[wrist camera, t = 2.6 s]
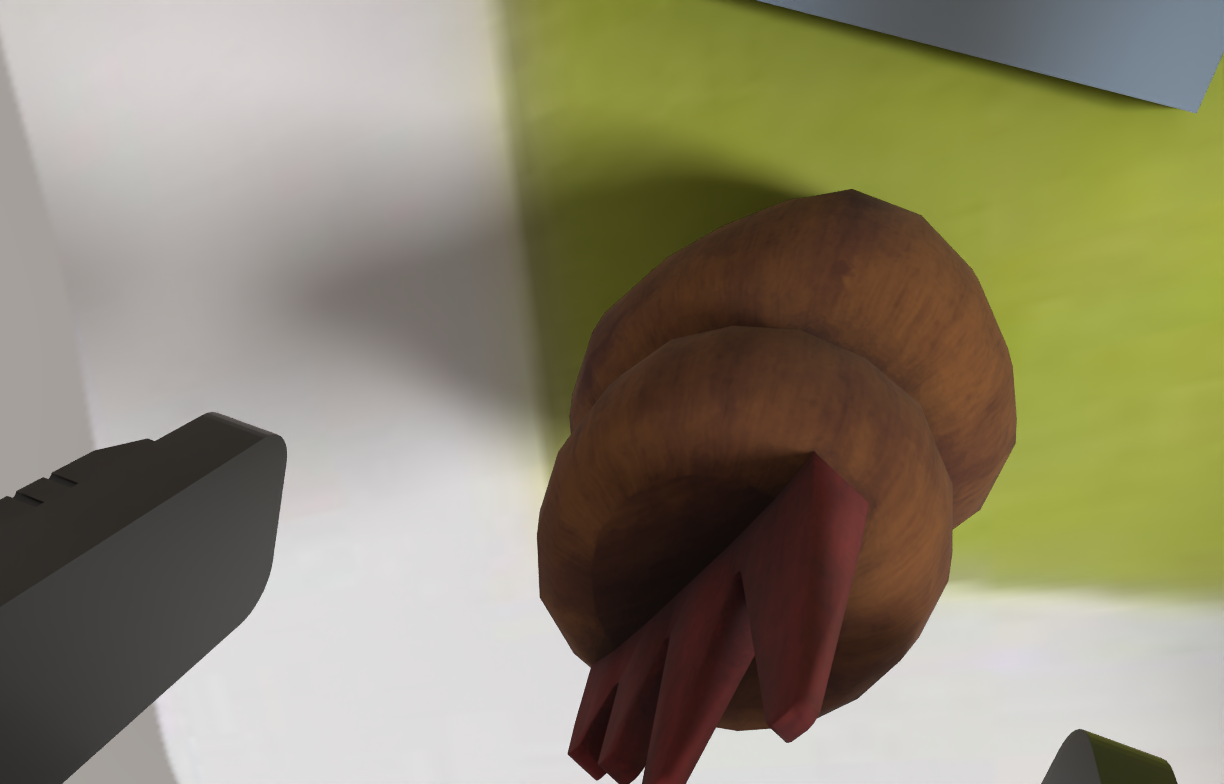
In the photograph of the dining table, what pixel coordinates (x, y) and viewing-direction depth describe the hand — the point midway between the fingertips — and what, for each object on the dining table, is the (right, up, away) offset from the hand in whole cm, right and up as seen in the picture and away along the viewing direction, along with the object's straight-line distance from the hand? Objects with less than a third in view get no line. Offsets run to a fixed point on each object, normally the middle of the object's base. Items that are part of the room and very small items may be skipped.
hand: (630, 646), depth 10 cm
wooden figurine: (+4, +4, +11) cm, 12 cm away
